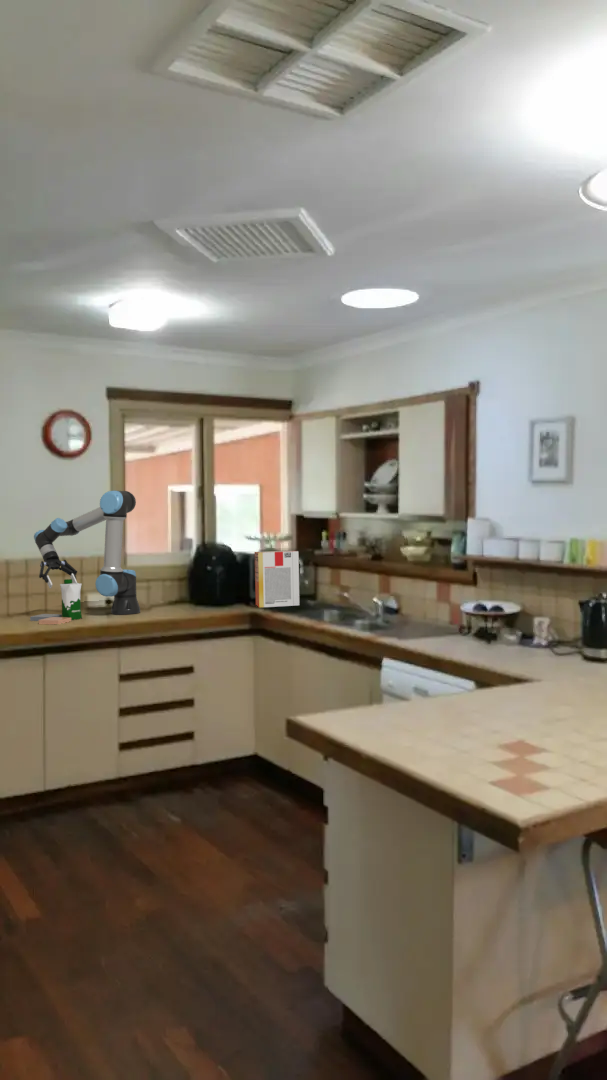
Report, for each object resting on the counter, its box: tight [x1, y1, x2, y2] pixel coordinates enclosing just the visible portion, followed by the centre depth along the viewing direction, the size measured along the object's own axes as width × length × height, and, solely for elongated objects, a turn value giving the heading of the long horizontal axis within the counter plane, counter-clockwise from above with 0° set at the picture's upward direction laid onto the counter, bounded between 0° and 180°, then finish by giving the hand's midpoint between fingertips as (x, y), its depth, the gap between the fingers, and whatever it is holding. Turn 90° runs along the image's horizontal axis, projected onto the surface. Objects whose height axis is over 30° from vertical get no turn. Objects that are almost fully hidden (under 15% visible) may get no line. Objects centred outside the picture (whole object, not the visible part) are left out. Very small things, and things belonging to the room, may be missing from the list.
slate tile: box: [29, 613, 62, 622], centre depth 431 cm, size 11×11×2 cm
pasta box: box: [254, 550, 300, 609], centre depth 472 cm, size 23×8×30 cm, turn 107°
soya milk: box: [59, 578, 83, 621], centre depth 430 cm, size 9×9×20 cm
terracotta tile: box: [38, 617, 72, 625], centre depth 418 cm, size 11×11×2 cm
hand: (63, 585), depth 435 cm, fingers open, 13 cm apart
